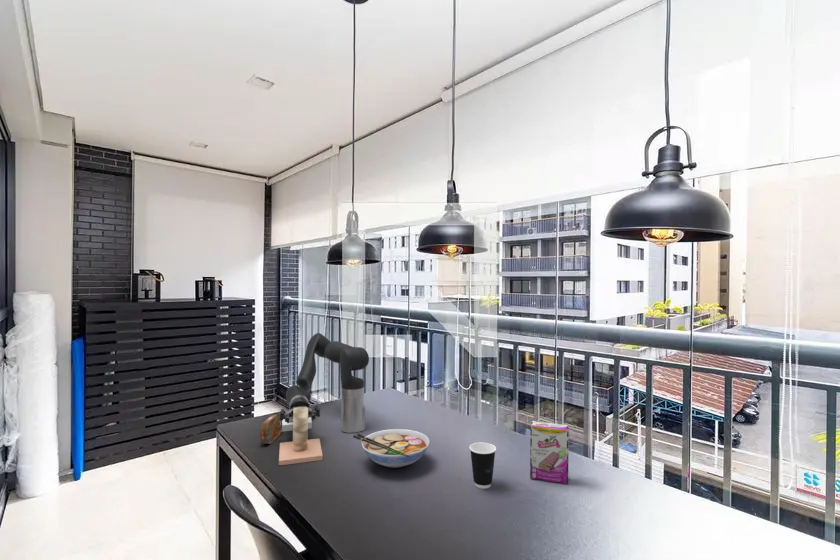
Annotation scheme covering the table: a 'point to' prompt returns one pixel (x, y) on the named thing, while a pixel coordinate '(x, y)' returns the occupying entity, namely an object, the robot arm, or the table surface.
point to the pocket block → (289, 425)
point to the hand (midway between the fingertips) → (300, 419)
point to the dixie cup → (482, 463)
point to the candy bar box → (549, 452)
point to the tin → (270, 429)
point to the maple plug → (300, 429)
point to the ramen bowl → (394, 446)
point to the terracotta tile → (300, 453)
